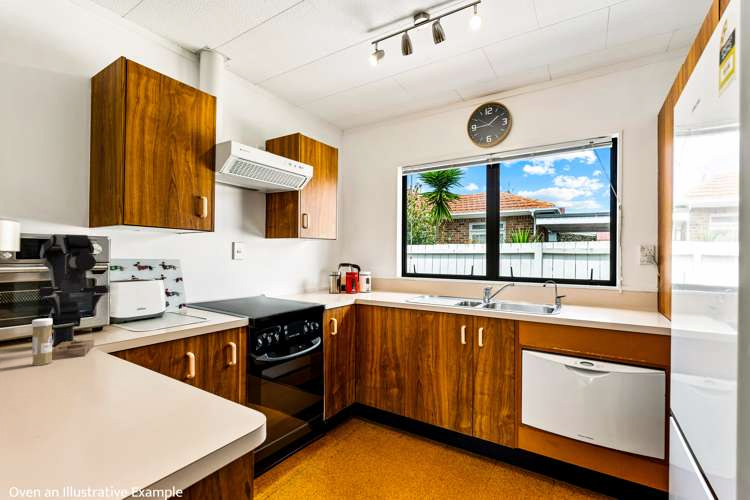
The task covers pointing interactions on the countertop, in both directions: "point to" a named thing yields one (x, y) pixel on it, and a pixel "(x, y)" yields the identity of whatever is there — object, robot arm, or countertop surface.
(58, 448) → the countertop surface
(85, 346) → the socket board
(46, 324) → the sprinkles bottle
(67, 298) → the robot arm
